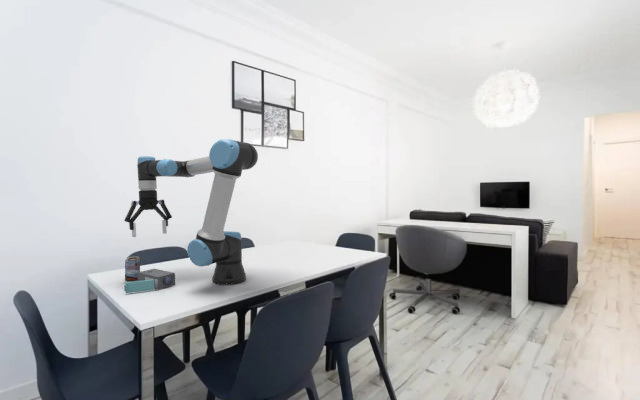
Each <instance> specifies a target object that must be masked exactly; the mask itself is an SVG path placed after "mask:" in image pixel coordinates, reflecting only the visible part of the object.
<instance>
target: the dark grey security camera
mask: <svg viewBox="0 0 640 400" xmlns="http://www.w3.org/2000/svg"><path fill="white" fill-rule="evenodd" d="M137 275H138V281H144V280H153V279H154V288H155V279H158V289H157V290H158V291H160V290H162V289H166V288H169V287H174V286H176V273H175V272H173V271H169V270H163V269H159V268H151V269H146V270H142V271H140V272H137ZM157 290H156V291H157Z"/></svg>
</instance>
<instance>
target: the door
mask: <svg viewBox="0 0 640 400" xmlns="http://www.w3.org/2000/svg"><path fill="white" fill-rule="evenodd" d="M157 289H158V279H155V288H154V279H153V280H144V281H135V282H126V281H125V284H124V289H123V291H124V292H125V294H129V293H130V294H131V293H132V294H133V293H138V292H139V293H140V292H147V291H155V290H156V291H157Z"/></svg>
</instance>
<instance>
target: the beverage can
mask: <svg viewBox="0 0 640 400" xmlns="http://www.w3.org/2000/svg"><path fill="white" fill-rule="evenodd" d="M137 272H141V258H140V257H139V256H127V257H126V258H125V260H124V282H125V283H126V282H135V281H138V275H137Z"/></svg>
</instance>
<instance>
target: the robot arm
mask: <svg viewBox="0 0 640 400" xmlns="http://www.w3.org/2000/svg"><path fill="white" fill-rule="evenodd" d="M258 160H259V154H258V151H257V149H256V148H255V146H253V145H252V144H250V143H249V142H244V141H243V142H242V141H239V140H235V139H231V138H230V139H227V138H223V139H219V140H217V141H215V142H214V143H213V144H212V145H211V147H210V150H209V155H208V156H204V157H200V158H193V159H189V160H184V161H181V160H173V159H169V158H168V159H167V158H163V159H157V160H156V157H154V156H144V155H143V156H139V157H138V158H137V163H136V164H137V165H136V166H137V179H138V180H137V181H138V190H139V191H138V201H137V200H132V201H131V203H130V208H129V209H128V212H127V214H126V215H125V217H124V221H123V222H125V223H129V224H128V225H129V226H128V227H129V231H131V237H132V238H137V224H136V222H135V221H136V220H137V219H138V217H140V215H141V213H143V212H144V211H149V210H151V211H152V210H154V211H156V213H157V214H158V215H159V216H160V217H161V218H162V219H161V226H162V227H161V229H162V234H165V235H166V234H167V232H168V231H167V227H169V220H171V219H172V218H173V215H172V214H171V212H170V210H169V208H168V207H167V205H166V204H165V199H160V200H158V190H157V187H158V185H157V177H169V178H170V177H175V178H177V177H179V178H180V177H182V178H192V177H193V178H194V177H196V176H197V175H202V174H203V175H204V174H210V173H214V177H213V181H212V185H211V190H210V194H209V199H208V202H207V207H206V211H205V214H204V219H203V223H202V228H200V229H199V230H197V232H196V237H195V238H194V239H192V240H191V241H190V242H189V243H188V245H187V247H186V248H187V251H186V252H187V256H188V258H189V260H190V261H191V263H192V264H193V265H195V266H196V267H206V266H207V267H209V266H210V265H214V264H215V267H214V272H213V274H212V278H211V279H212V280H211V281H212V283H213V284H214V285H218V286H219V285H220V286H228V285H237V284H241V283H243V282H245V281H246V280H247V275H246V272H245V268H244V265H243V262H242V261H243V256H242V250H243V248H242V247H243V246H242V234H241V233H240V232H239V231H224V229H225V224H226V221H227V218H228V213H229V209H230V206H231V201H232V198H233V193H234V189H235V184H236V181H237V179H239V178H240V177H241V176H242V173H243V170H244V171H245V170H250V169H252V168H254V167H255V166H256V164H257V163H258ZM138 205H139V207H138V209H137V210H136V207H137V206H138ZM158 205H160V207H161V209H160V208H159V207H158ZM135 210H136V212H135ZM162 210H163V211H162ZM134 212H135V213H134Z"/></svg>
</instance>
